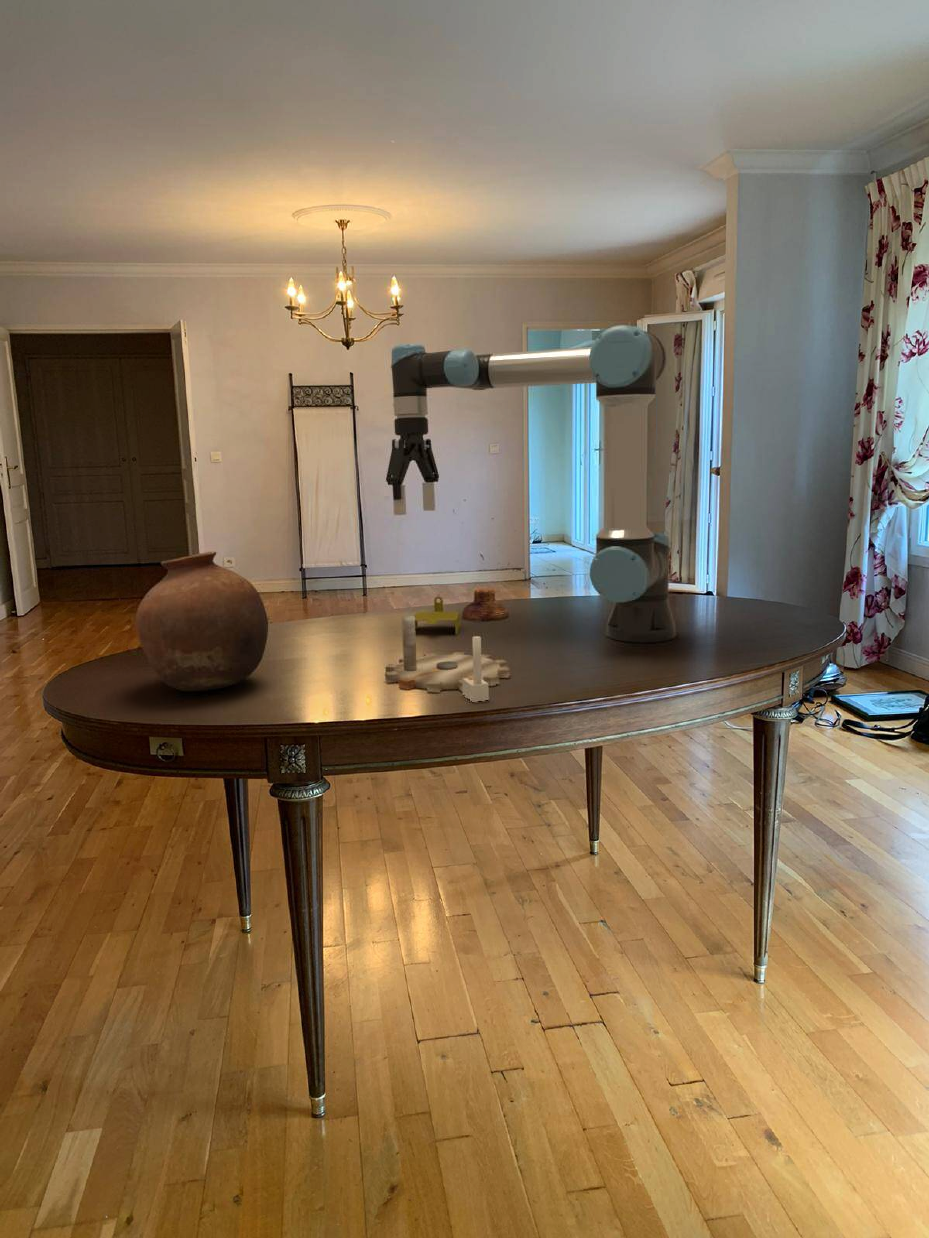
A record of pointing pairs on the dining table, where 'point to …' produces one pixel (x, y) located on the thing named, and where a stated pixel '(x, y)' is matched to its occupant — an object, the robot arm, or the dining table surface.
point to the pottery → (202, 625)
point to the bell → (484, 607)
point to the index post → (476, 677)
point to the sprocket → (438, 666)
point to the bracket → (438, 615)
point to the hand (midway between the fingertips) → (415, 512)
